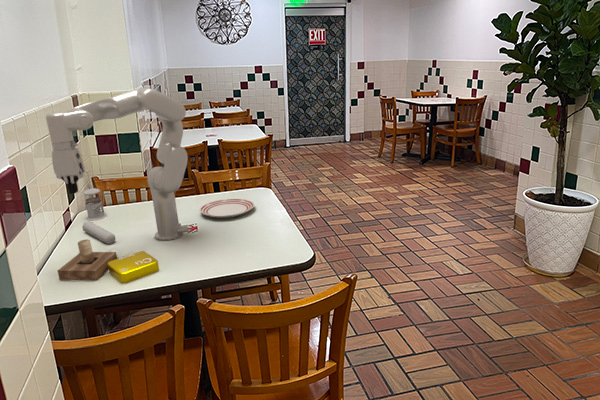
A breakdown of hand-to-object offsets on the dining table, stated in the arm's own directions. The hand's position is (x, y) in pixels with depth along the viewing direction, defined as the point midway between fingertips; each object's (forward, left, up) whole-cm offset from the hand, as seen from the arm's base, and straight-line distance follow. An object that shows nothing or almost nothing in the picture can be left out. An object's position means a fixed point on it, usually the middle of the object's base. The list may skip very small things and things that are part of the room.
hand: (73, 192), depth 180 cm
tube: (+8, -24, -30) cm, 39 cm away
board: (-5, +8, -29) cm, 31 cm away
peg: (-5, +8, -29) cm, 31 cm away
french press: (+24, -51, -29) cm, 64 cm away
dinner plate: (-43, -56, -30) cm, 77 cm away
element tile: (-23, +8, -30) cm, 39 cm away
